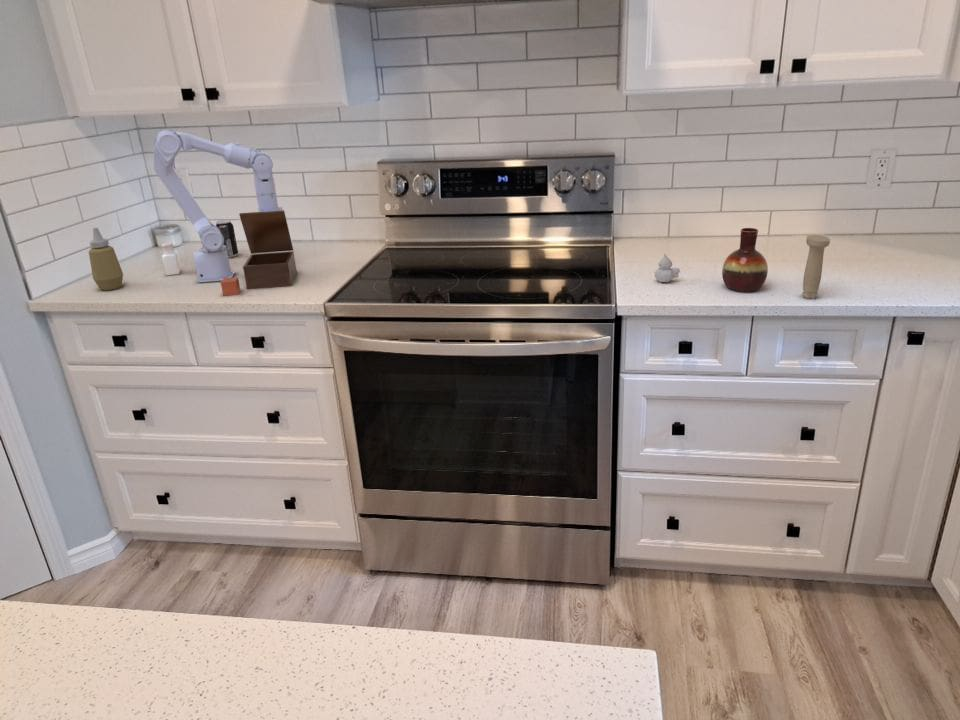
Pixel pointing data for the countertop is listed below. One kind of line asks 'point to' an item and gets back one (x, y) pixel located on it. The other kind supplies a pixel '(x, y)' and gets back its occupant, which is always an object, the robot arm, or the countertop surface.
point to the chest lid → (266, 231)
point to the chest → (270, 270)
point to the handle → (814, 264)
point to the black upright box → (228, 237)
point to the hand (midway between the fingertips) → (273, 238)
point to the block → (230, 286)
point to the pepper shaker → (170, 259)
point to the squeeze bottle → (104, 263)
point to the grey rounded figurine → (666, 270)
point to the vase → (745, 265)
